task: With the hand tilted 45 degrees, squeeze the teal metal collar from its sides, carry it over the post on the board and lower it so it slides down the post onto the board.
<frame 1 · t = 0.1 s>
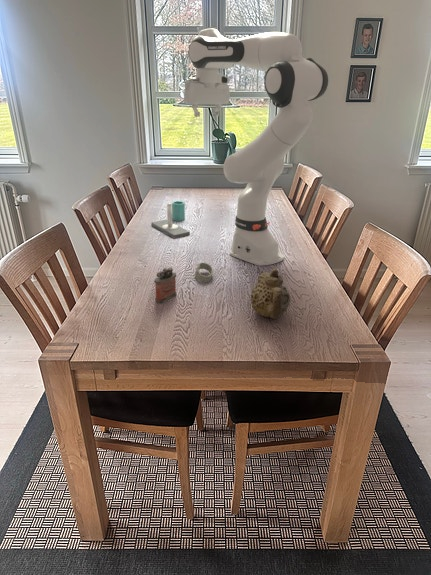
hand: (206, 116, 166), 48 cm above the table, tool pointing down, fingers open, 8 cm apart
lighter: (166, 298, 130), on the table
collar: (178, 218, 201), on the table
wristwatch: (204, 277, 144), on the table
post stand: (170, 230, 186), on the table
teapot: (269, 316, 122), on the table
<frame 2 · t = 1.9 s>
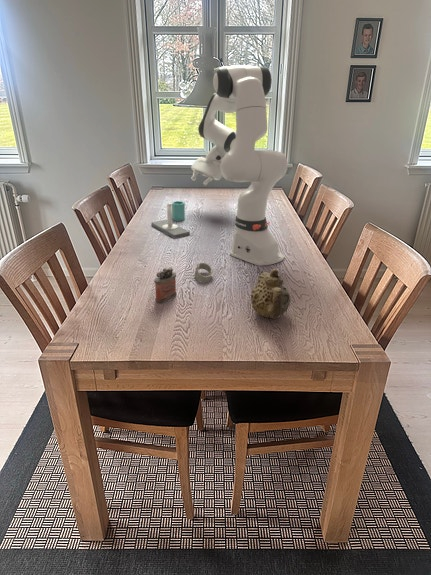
hand: (198, 181, 200), 17 cm above the table, tool tilted 45°, fingers open, 8 cm apart
nothing on the table moved.
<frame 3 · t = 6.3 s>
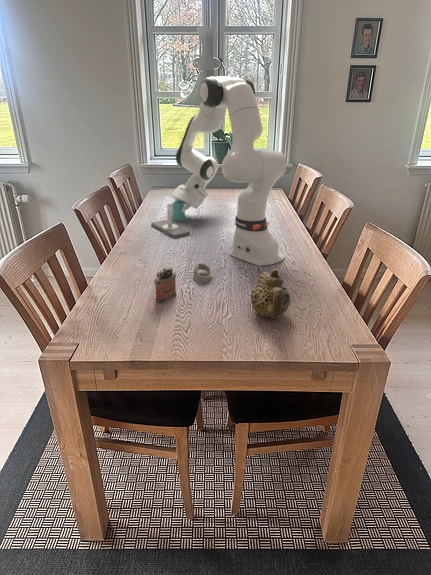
hand: (177, 209, 198), 5 cm above the table, tool tilted 45°, fingers closed on collar, 6 cm apart
collar: (178, 218, 201), on the table, touching gripper
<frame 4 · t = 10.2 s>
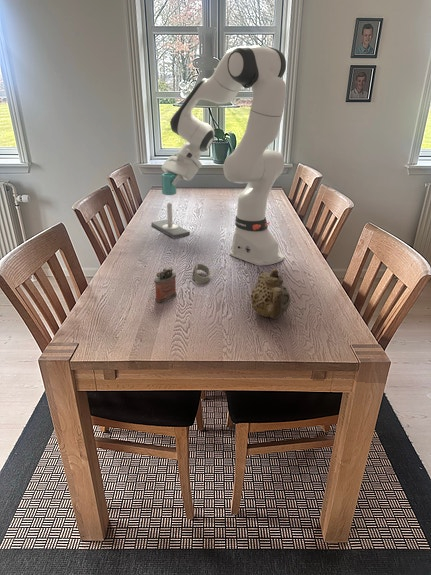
hand: (167, 183, 176), 21 cm above the table, tool tilted 45°, fingers closed on collar, 6 cm apart
collar: (169, 193, 178), point 17 cm above the table, touching gripper
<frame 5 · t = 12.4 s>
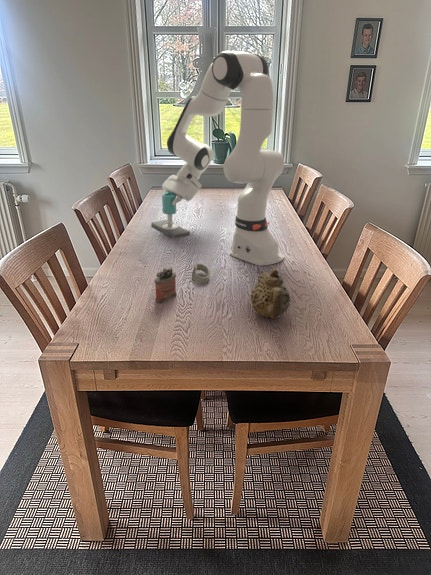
hand: (168, 202, 180), 13 cm above the table, tool tilted 45°, fingers closed on collar, 6 cm apart
collar: (169, 212, 182), point 8 cm above the table, touching gripper
when the fingers open (8 cm above the table, at t = 14.5 s): collar drops 2 cm, resting on post stand.
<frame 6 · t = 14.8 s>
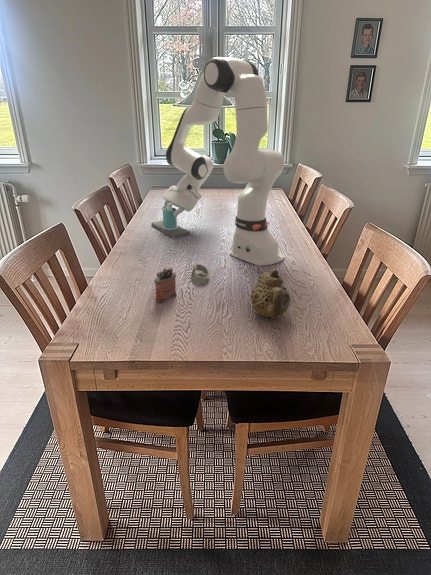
hand: (168, 213, 182), 8 cm above the table, tool tilted 45°, fingers open, 8 cm apart
collar: (170, 226, 185), point 2 cm above the table, touching post stand
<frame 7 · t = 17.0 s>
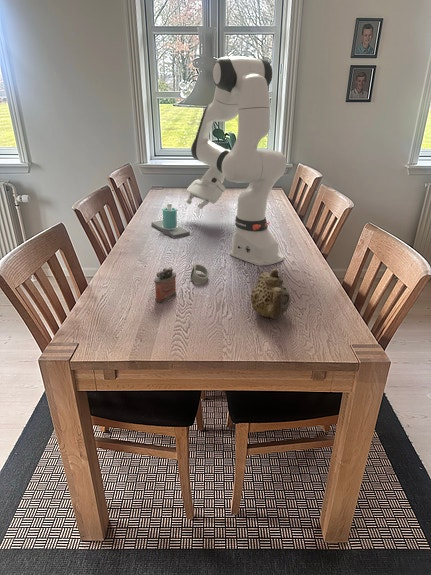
hand: (193, 205, 188), 10 cm above the table, tool tilted 45°, fingers open, 8 cm apart
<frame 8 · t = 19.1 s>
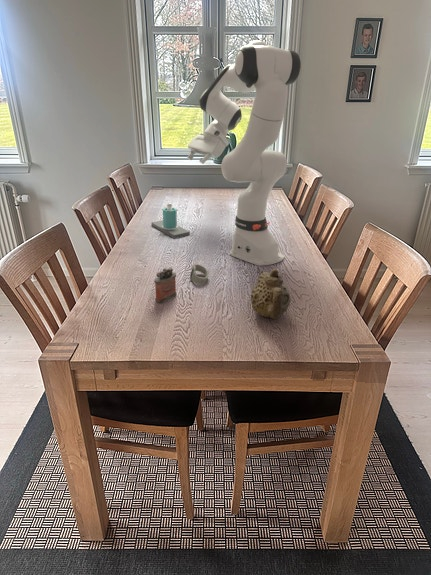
hand: (195, 160, 180), 29 cm above the table, tool tilted 45°, fingers open, 8 cm apart
at the end: collar 0.0 cm from the post stand (horizontally); collar point 1.7 cm above the table; the gripper is holding nothing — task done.
